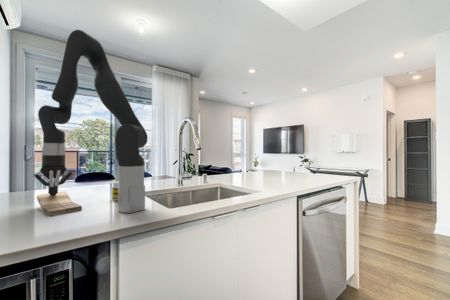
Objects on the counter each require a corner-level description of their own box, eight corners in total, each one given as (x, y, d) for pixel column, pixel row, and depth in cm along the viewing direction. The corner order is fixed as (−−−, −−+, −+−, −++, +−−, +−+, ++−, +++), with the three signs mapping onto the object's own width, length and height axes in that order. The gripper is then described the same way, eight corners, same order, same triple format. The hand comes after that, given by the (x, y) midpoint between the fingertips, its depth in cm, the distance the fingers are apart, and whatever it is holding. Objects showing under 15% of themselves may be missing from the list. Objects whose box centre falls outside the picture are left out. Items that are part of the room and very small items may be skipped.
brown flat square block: (81, 210, 81) (81, 205, 81) (49, 216, 74) (49, 211, 74) (73, 206, 87) (73, 202, 87) (42, 211, 80) (42, 207, 80)
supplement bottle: (112, 201, 96) (112, 182, 96) (112, 199, 100) (112, 181, 100) (123, 199, 98) (123, 182, 98) (123, 197, 102) (123, 180, 102)
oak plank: (72, 205, 88) (72, 202, 87) (42, 210, 80) (42, 207, 80) (65, 194, 93) (65, 191, 93) (36, 198, 86) (37, 194, 85)
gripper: (35, 154, 80) (34, 199, 80) (75, 154, 91) (74, 194, 91) (30, 153, 85) (29, 196, 85) (69, 153, 95) (68, 191, 95)
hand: (53, 195), depth 88 cm, fingers closed
